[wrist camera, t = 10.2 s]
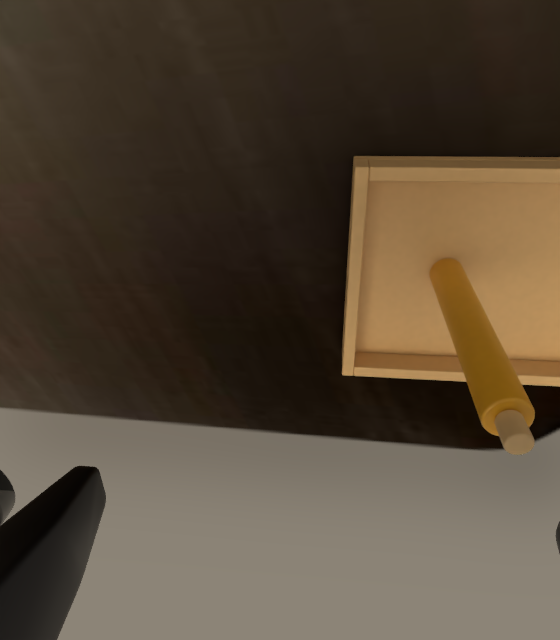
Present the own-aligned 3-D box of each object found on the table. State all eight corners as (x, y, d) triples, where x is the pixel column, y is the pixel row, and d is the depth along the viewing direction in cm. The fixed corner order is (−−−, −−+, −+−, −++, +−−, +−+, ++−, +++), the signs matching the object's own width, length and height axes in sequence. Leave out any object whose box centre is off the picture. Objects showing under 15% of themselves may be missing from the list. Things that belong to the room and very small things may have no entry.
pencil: (459, 287, 20) (541, 466, 12) (427, 286, 20) (485, 462, 12) (465, 257, 19) (555, 426, 11) (431, 256, 19) (496, 423, 11)
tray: (670, 157, 17) (700, 170, 16) (590, 365, 22) (607, 389, 20) (353, 155, 18) (354, 166, 17) (341, 353, 23) (341, 375, 21)
